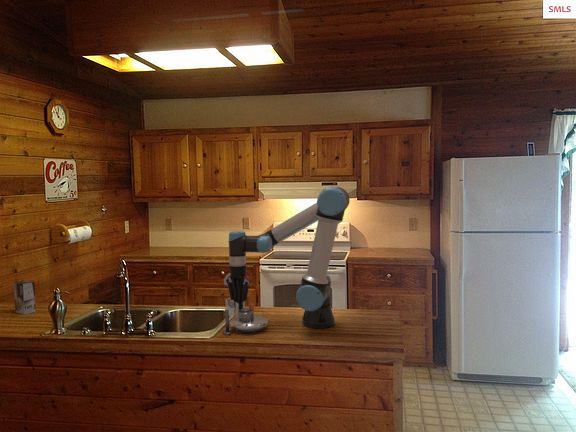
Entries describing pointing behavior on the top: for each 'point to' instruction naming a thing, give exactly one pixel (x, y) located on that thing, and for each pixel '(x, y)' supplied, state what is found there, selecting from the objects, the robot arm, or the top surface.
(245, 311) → the cover
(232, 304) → the engine component
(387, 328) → the top surface
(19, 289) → the coffee box
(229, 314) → the dial stand
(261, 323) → the turntable
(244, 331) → the turntable base
